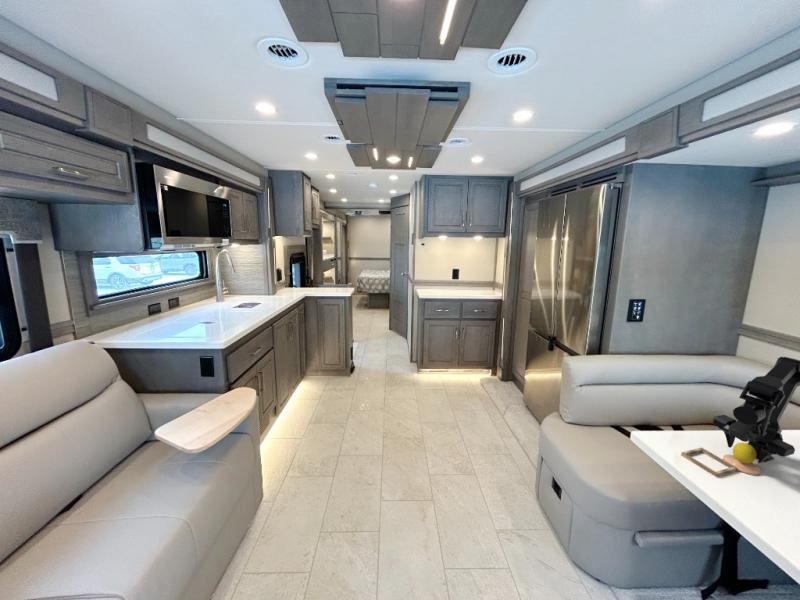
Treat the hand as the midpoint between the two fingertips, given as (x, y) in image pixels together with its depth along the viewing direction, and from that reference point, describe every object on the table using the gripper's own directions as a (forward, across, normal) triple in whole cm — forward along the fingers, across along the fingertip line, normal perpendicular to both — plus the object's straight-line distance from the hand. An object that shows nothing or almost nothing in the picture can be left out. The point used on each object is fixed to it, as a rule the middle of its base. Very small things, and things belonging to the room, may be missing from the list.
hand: (744, 454), depth 108 cm
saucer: (+4, 0, 0) cm, 4 cm away
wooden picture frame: (+4, -4, -10) cm, 12 cm away
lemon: (+4, 0, 0) cm, 4 cm away
